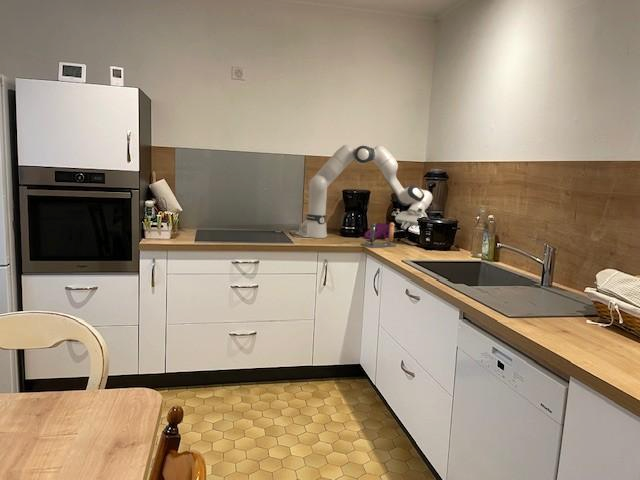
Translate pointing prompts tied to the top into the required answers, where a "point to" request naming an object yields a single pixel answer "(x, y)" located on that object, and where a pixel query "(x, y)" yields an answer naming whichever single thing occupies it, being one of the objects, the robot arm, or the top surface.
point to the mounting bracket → (379, 231)
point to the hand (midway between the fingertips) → (402, 228)
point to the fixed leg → (372, 233)
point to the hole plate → (378, 244)
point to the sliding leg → (391, 232)
